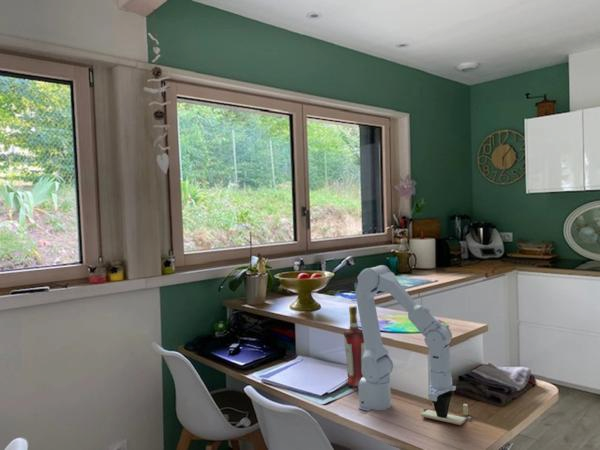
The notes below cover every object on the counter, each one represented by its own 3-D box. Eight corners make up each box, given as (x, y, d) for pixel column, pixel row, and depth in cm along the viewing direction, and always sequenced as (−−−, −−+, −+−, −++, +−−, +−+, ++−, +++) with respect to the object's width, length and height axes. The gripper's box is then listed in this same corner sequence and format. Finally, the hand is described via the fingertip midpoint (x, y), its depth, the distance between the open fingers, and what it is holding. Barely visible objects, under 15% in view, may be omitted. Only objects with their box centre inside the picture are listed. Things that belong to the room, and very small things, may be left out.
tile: (428, 409, 133) (428, 412, 133) (420, 413, 128) (420, 416, 128) (467, 417, 126) (467, 420, 126) (460, 422, 121) (460, 425, 121)
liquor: (344, 382, 161) (340, 305, 161) (364, 380, 162) (360, 304, 161) (348, 390, 154) (344, 309, 154) (369, 388, 155) (365, 308, 154)
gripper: (446, 380, 118) (448, 431, 118) (461, 364, 130) (464, 410, 130) (420, 375, 122) (422, 425, 122) (437, 360, 134) (439, 405, 134)
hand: (442, 417), depth 126 cm, fingers closed, pressing on tile
